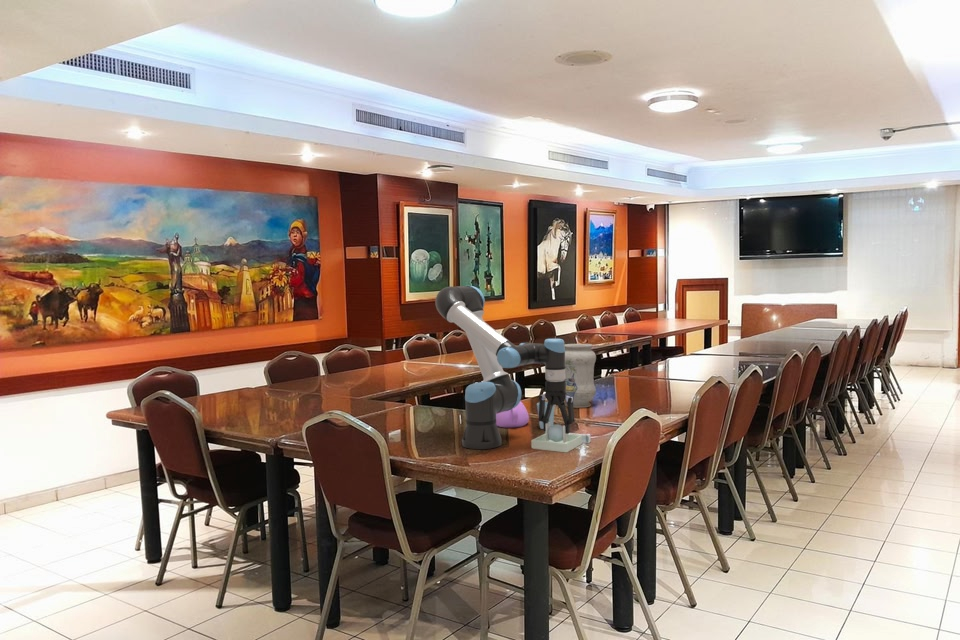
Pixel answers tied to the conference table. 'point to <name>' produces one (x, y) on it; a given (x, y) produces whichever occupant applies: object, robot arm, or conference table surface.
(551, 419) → the cup
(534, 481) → the conference table surface
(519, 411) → the teapot
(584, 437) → the white bar handle
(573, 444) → the tray
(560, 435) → the ball
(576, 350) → the vase
